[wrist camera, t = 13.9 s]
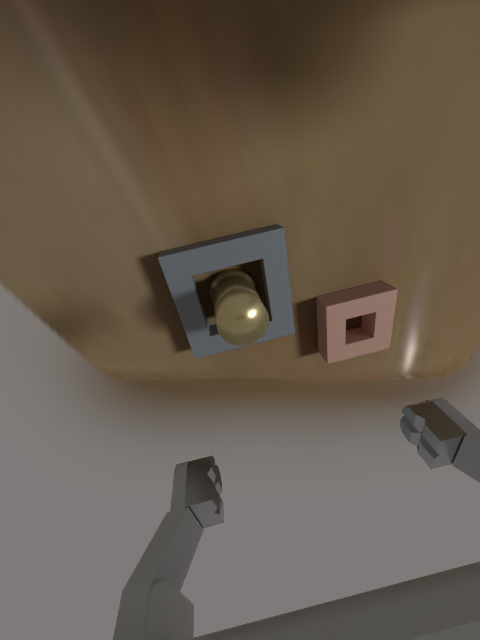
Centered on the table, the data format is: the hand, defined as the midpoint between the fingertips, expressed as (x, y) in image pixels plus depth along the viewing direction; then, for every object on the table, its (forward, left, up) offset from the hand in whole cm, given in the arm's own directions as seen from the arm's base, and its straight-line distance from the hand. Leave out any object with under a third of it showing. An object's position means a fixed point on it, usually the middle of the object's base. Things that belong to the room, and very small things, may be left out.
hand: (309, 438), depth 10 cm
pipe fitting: (+1, +2, -22) cm, 22 cm away
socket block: (+1, +2, -22) cm, 22 cm away
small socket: (-14, +10, -22) cm, 28 cm away
